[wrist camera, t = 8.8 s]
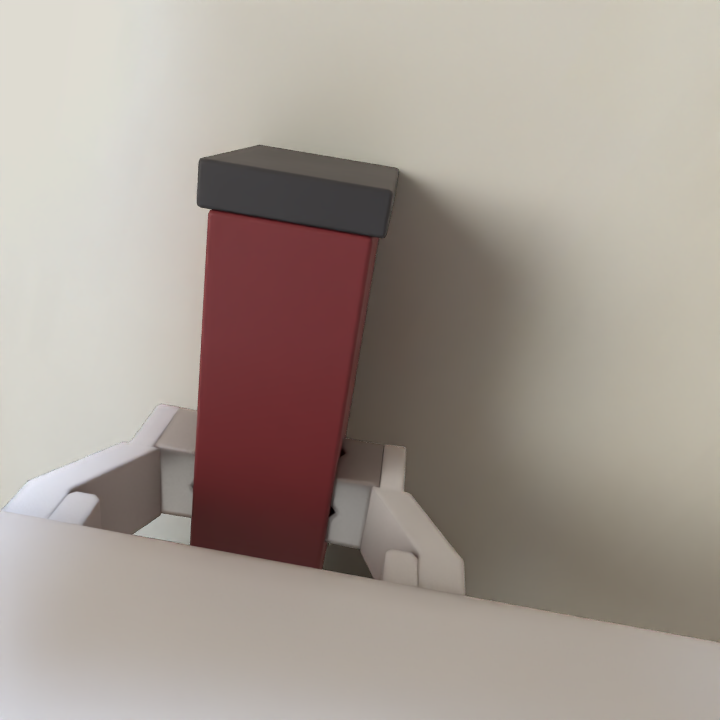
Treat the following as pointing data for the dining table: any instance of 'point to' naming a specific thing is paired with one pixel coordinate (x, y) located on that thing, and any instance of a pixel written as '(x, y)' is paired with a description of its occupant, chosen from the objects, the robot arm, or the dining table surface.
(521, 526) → the dining table surface
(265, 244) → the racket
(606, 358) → the dining table surface
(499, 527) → the dining table surface
